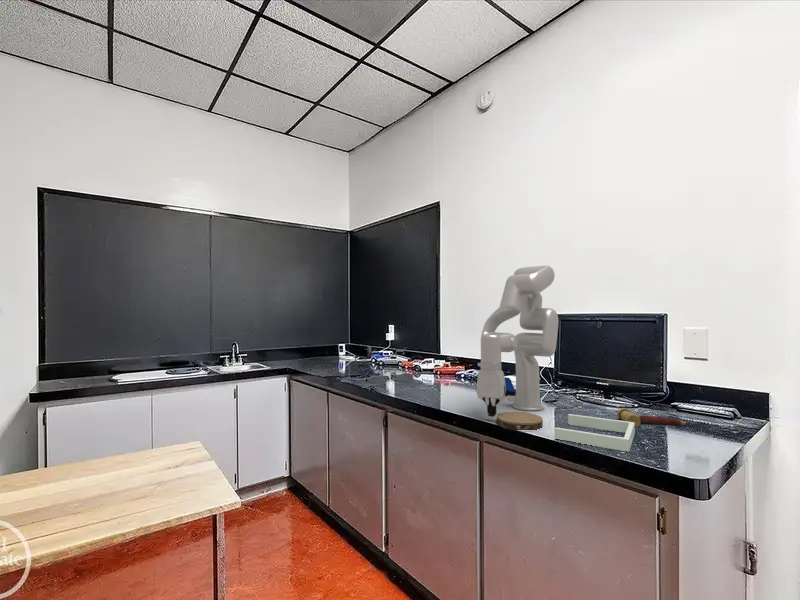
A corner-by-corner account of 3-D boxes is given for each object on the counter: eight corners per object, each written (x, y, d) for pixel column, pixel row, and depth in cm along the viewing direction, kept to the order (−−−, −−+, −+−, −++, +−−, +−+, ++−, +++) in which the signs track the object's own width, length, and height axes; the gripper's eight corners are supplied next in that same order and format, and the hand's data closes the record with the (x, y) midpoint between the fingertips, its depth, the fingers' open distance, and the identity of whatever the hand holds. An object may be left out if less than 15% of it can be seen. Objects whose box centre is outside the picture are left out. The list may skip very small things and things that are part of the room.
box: (554, 439, 127) (554, 428, 127) (569, 423, 144) (568, 413, 145) (629, 452, 115) (628, 439, 115) (634, 433, 133) (634, 422, 133)
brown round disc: (550, 425, 144) (550, 416, 144) (529, 435, 133) (529, 426, 133) (511, 417, 155) (511, 409, 155) (488, 425, 144) (488, 417, 144)
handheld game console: (525, 393, 199) (525, 374, 199) (510, 397, 190) (509, 378, 190) (498, 389, 211) (498, 371, 211) (483, 392, 202) (483, 374, 202)
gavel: (678, 413, 147) (693, 420, 137) (678, 425, 147) (692, 434, 137) (617, 407, 151) (626, 414, 141) (616, 419, 151) (626, 427, 141)
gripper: (468, 366, 152) (469, 415, 151) (506, 369, 143) (507, 421, 143) (476, 364, 158) (477, 411, 157) (513, 367, 149) (514, 416, 149)
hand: (491, 415), depth 150 cm, fingers closed
